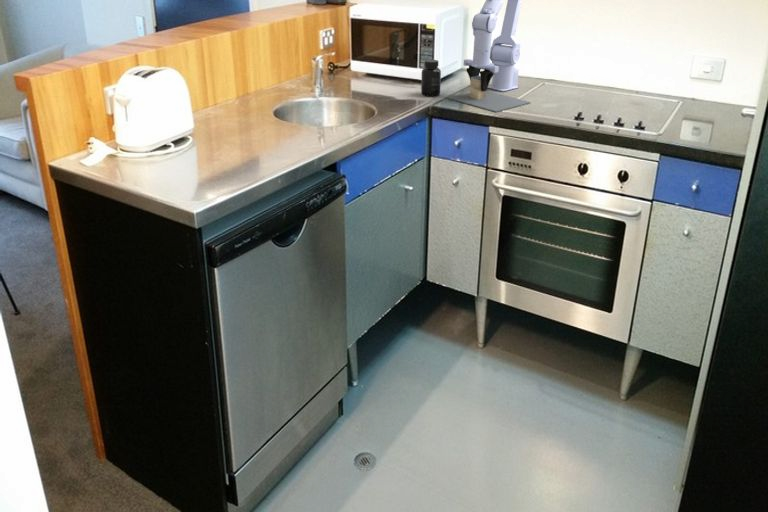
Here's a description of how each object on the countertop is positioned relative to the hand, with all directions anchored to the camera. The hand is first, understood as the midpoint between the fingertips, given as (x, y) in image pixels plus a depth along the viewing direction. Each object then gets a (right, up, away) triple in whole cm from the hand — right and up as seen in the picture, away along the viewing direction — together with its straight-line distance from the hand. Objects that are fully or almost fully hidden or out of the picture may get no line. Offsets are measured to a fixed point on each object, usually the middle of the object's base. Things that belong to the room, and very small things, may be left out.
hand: (479, 89), depth 250 cm
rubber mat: (+3, -4, -2) cm, 6 cm away
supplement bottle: (-17, -1, +5) cm, 17 cm away
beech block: (0, -2, +1) cm, 3 cm away
